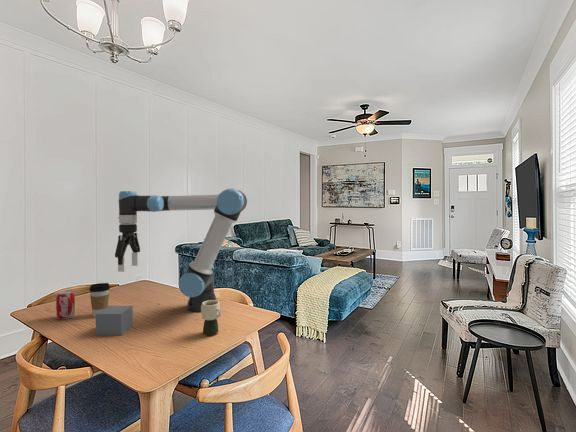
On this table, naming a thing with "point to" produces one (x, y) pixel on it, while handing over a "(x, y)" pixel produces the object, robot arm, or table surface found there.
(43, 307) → the table surface
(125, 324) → the grey cubic block
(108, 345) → the table surface
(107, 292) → the coffee cup
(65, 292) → the soda can
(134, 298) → the table surface
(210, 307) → the character mug
